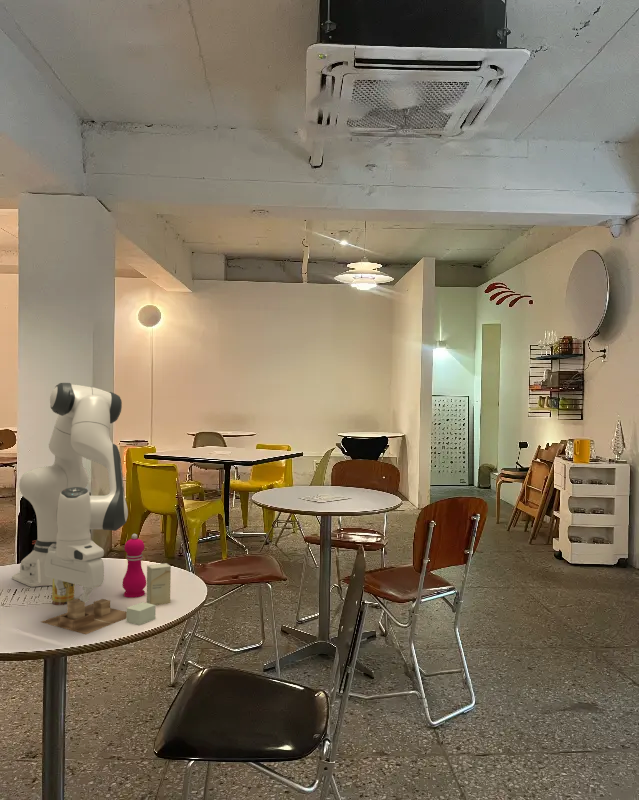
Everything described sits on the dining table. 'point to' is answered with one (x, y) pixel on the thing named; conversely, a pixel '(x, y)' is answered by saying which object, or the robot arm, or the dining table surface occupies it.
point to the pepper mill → (134, 569)
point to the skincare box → (158, 584)
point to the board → (90, 618)
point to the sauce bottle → (65, 598)
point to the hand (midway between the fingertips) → (72, 598)
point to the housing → (140, 613)
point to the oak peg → (75, 609)
